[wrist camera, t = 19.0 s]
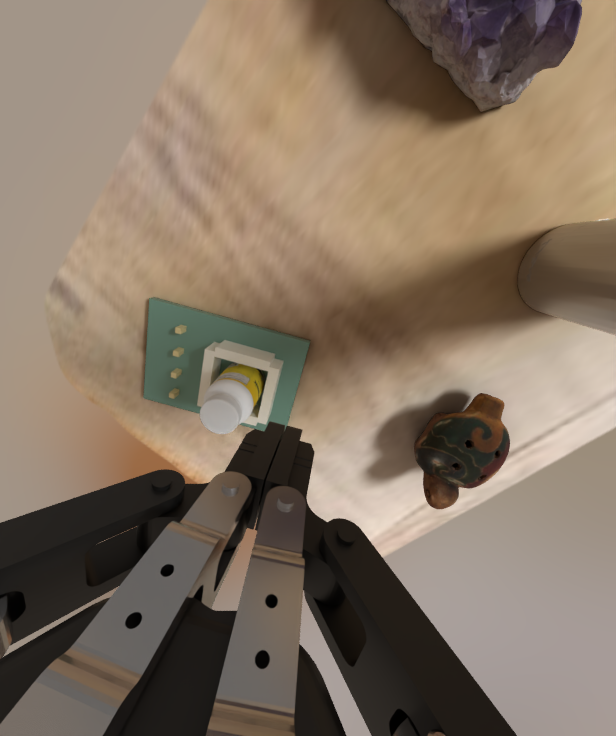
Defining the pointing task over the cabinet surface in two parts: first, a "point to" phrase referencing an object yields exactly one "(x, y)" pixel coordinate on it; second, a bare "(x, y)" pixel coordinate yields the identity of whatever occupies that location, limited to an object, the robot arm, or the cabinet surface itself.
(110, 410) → the cabinet surface
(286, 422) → the header board
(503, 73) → the geode
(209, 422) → the supplement bottle
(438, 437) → the decorative turtle
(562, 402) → the cabinet surface
